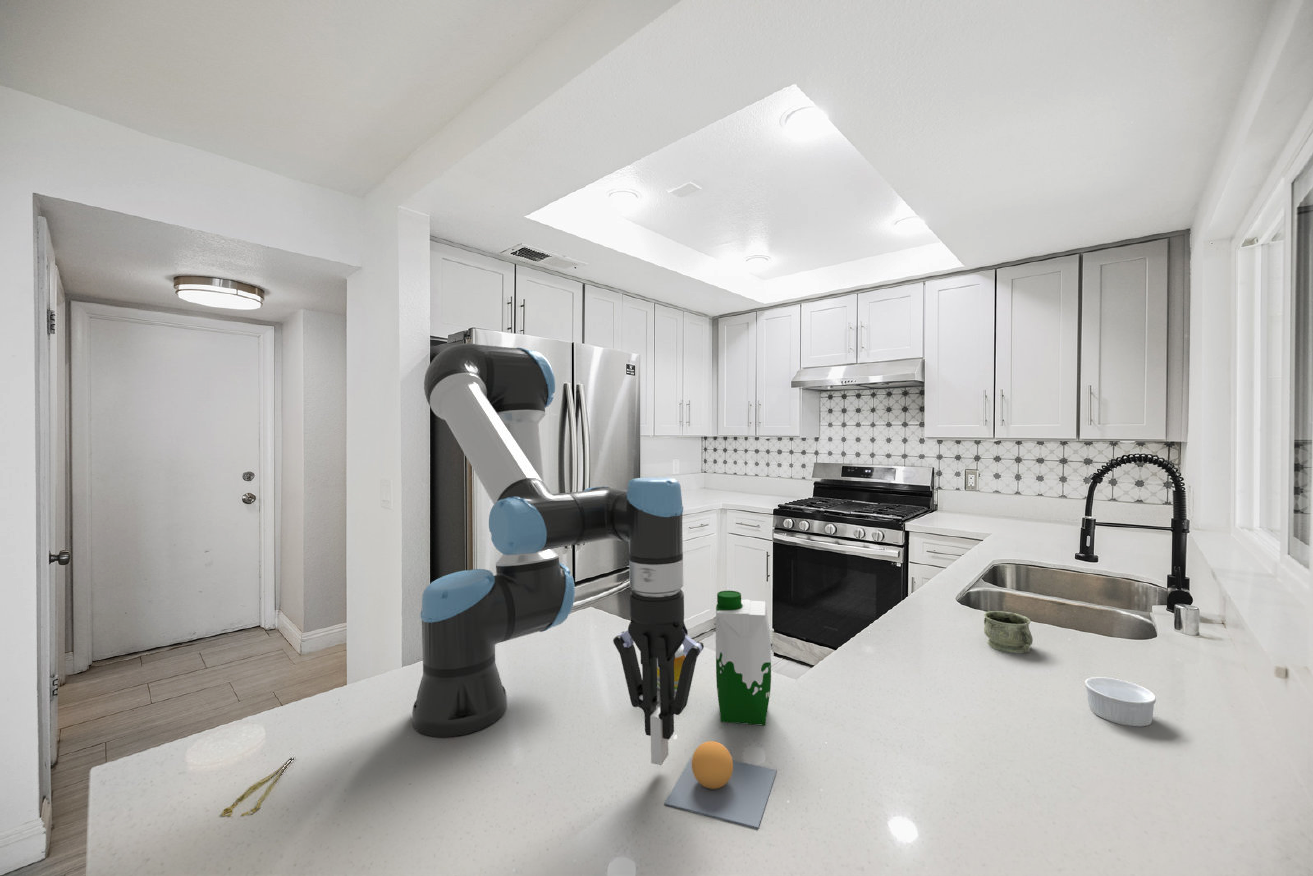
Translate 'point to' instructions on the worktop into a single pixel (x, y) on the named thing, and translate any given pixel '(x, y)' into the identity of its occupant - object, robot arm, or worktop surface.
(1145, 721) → the ramekin
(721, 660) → the milk carton
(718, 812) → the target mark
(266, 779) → the tongs
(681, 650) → the supplement bottle
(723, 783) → the ball
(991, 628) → the vessel
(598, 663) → the worktop surface
